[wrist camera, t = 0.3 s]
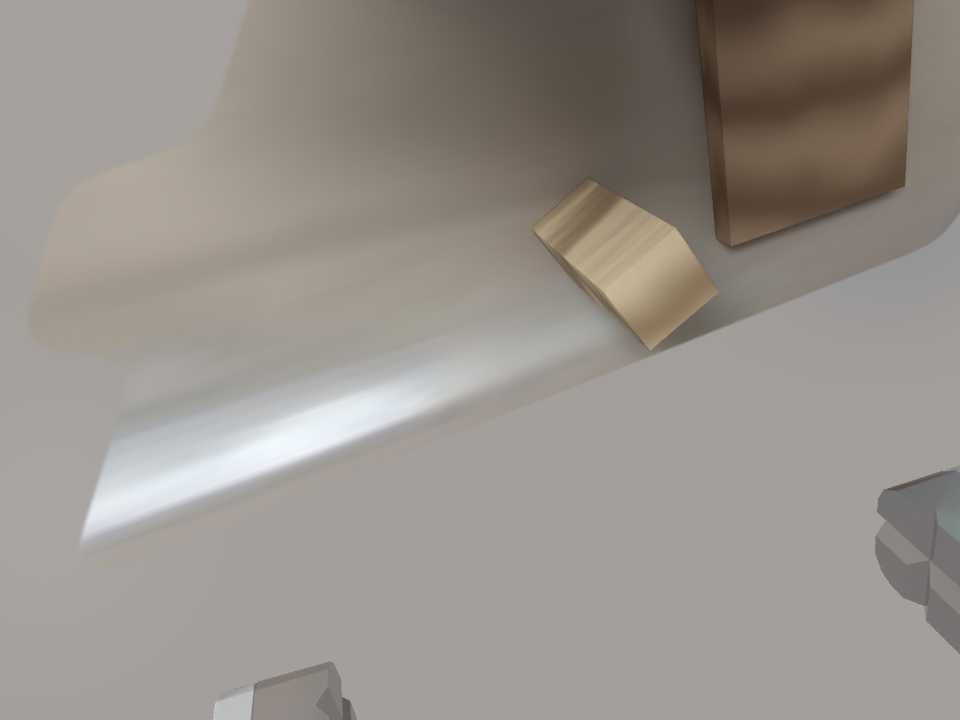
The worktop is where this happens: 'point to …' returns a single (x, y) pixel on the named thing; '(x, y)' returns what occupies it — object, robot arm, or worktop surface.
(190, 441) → the worktop surface
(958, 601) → the robot arm
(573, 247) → the oak block
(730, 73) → the walnut board
